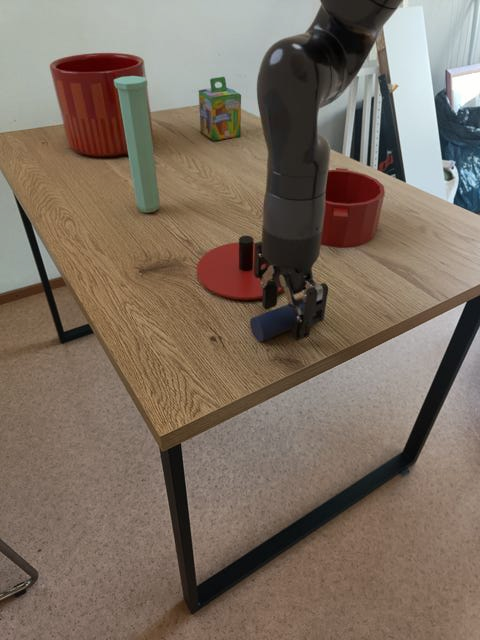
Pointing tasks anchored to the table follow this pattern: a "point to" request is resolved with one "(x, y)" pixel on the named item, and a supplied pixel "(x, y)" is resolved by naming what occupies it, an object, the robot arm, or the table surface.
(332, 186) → the pot
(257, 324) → the tube
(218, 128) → the chalk box
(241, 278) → the pot lid
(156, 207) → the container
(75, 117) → the planter
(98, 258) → the table surface
